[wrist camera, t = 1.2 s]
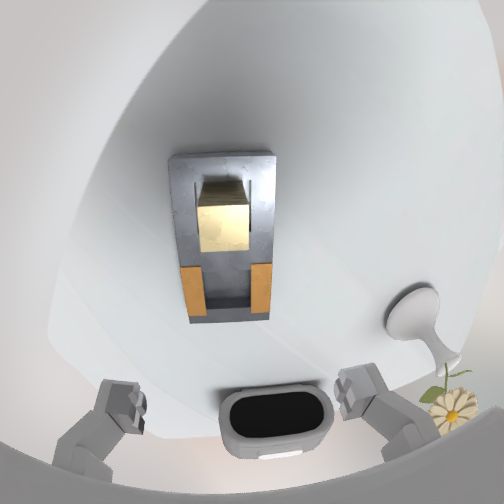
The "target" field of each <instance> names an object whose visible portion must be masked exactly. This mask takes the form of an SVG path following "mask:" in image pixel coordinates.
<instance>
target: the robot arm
mask: <svg viewBox="0 0 504 504" xmlns="http://www.w3.org/2000/svg"><path fill="white" fill-rule="evenodd" d="M338 376H339V378H338V379H337V380H336V381H335V384H334V394H335V398H336V400H337V401H338V402H339V403H341V406H340V408H339V409H340V412H341V415H342V418H343V421H346V420H350V419H355V418H359V417H362V419H364V420H365V421H366V422H367V423H368V424H369V425H371V426H372V427H373V428H374V429H375V430H376V431H378V432H379V433H380V434H381V435H382V436H384V437H385V438H386V439H387V440H388V441H389V442H388V443H387V444H386V445H385V446H384V447H383V448H382V450H381V453H382V456H383V458H384V461H385V463H383V464H380V465H377V466H374V467H372V468H369V469H366V470H363V471H359V472H356V473H353V474H350V475H346V476H343V477H339V478H335V479H331V480H327V481H323V482H318V483H314V484H309V485H304V486H298V487H293V488H286V489H279V490H271V491H263V492H252V493H236V494H191V493H175V492H174V493H173V492H164V491H155V490H148V489H141V488H135V487H129V486H124V485H119V484H114V483H112V474H113V470H112V469H111V468H110V467H109V466H108V465H106V464H105V463H104V462H103V461H104V459H105V458H106V457H107V456H108V454H109V453H110V452H111V451H112V449H113V448H114V447H115V446H116V444H117V443H118V442H119V441H120V440H121V438H122V437H123V435H125V433H130V434H141V435H143V431H144V424H145V421H144V420H143V418H142V416H143V415H144V414H145V413H146V409H147V402H146V397H145V395H144V393H143V392H142V391H140V385H139V384H138V382H127V381H116V380H108V379H104V380H103V381H102V382H101V385H100V389H99V392H98V396H97V399H96V403H95V406H94V410H93V411H92V410H90V411H89V412H88V413H87V414H86V415H85V416H84V417H83V418H82V419H80V420H79V421H78V422H77V423H76V424H75V425H74V426H73V427H72V428H70V429H69V430H68V431H67V432H66V433H65V434H64V435H63V436H62V437H61V438H59V440H58V442H57V446H56V450H55V454H54V458H53V462H52V465H50V464H48V463H45V462H43V461H40V460H38V459H36V458H33V457H31V456H29V455H26V454H24V453H22V452H20V451H18V450H16V449H14V448H11V447H10V446H8V445H6V444H4V443H2V442H0V504H504V409H502V408H500V407H497V406H491V407H489V408H487V409H486V410H484V411H483V412H482V413H480V414H479V415H477V416H476V417H474V418H473V419H471V420H469V421H468V422H466V423H465V424H463V425H461V426H460V427H458V428H456V429H455V430H453V431H451V432H449V433H448V434H446V435H444V436H442V437H441V435H440V432H439V430H438V428H437V426H436V424H435V422H434V420H433V418H432V416H431V415H430V414H429V413H427V412H426V411H424V410H422V409H421V408H419V407H418V406H416V405H414V404H412V403H411V402H409V401H408V400H406V399H404V398H403V397H401V396H400V395H398V394H397V393H395V392H393V391H389V390H388V388H387V386H386V384H385V382H384V380H383V378H382V376H381V374H380V372H379V370H378V368H377V366H376V364H374V363H368V364H364V365H359V366H354V367H350V368H345V369H341V370H340V371H339V373H338Z"/></svg>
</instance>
